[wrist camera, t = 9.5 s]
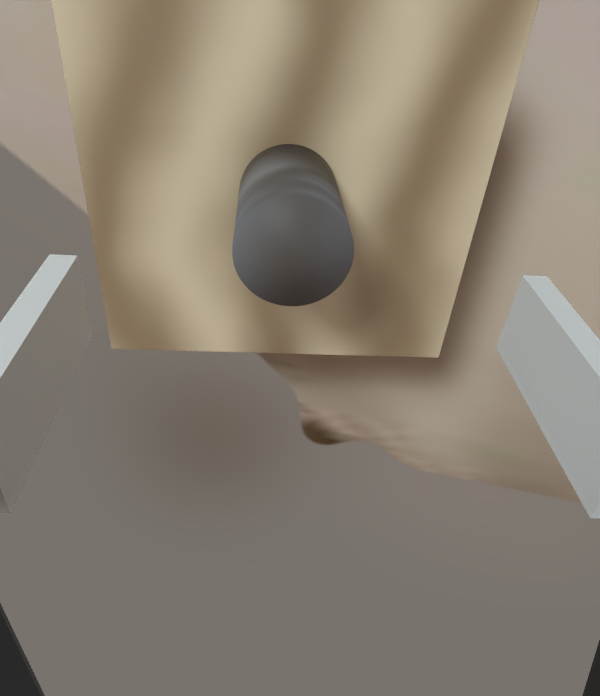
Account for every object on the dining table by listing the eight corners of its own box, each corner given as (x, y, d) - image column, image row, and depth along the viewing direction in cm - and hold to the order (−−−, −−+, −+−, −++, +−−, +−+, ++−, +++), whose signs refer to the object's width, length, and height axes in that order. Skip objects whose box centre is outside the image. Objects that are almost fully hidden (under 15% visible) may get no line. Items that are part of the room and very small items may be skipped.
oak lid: (535, -35, 20) (640, -30, 15) (433, 345, 31) (471, 434, 25) (49, -78, 19) (-46, -90, 13) (116, 335, 30) (79, 428, 24)
